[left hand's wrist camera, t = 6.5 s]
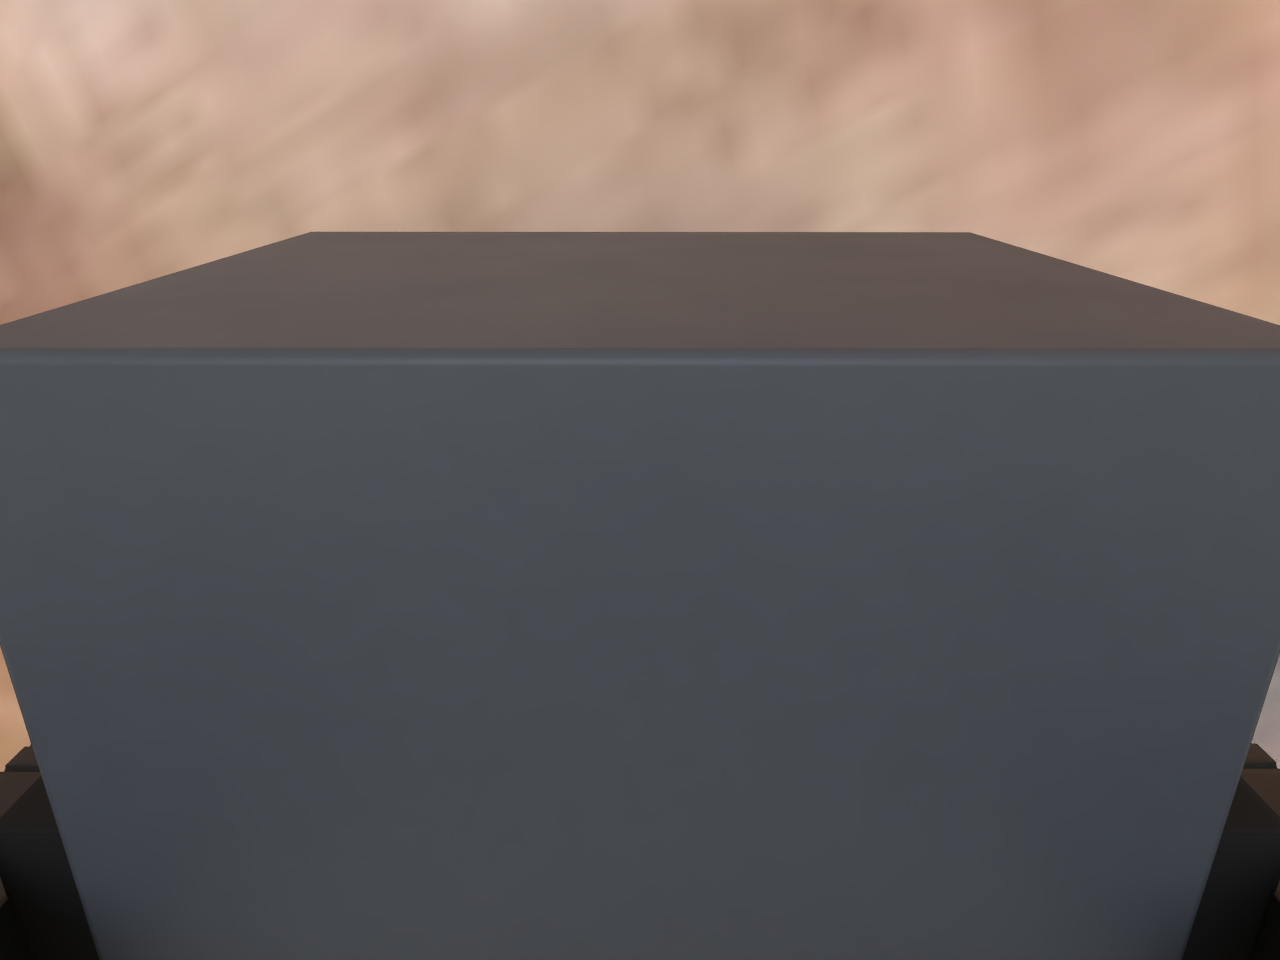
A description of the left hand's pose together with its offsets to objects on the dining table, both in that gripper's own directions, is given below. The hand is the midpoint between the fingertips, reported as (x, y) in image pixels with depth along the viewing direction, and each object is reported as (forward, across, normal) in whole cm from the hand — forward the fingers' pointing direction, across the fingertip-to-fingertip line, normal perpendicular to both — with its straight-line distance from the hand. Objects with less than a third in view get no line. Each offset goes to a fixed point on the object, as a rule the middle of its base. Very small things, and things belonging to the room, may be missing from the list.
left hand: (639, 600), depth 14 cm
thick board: (+1, 0, -28) cm, 28 cm away
